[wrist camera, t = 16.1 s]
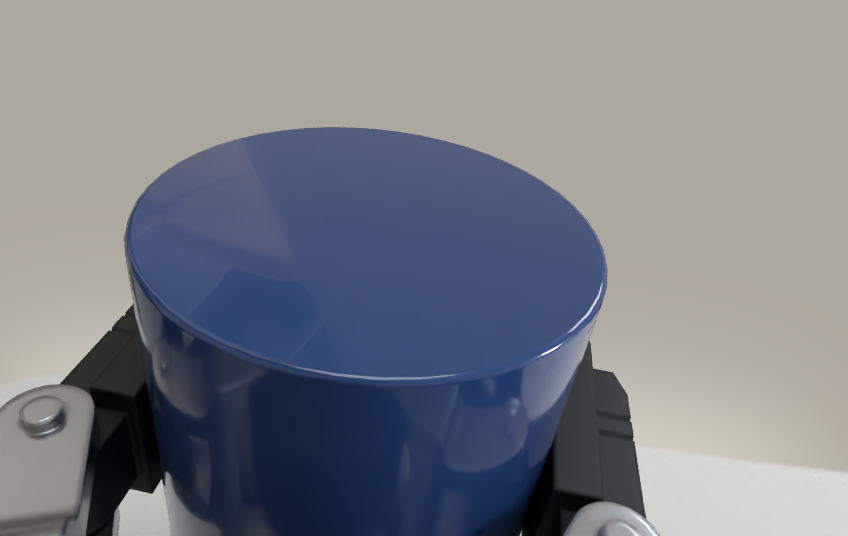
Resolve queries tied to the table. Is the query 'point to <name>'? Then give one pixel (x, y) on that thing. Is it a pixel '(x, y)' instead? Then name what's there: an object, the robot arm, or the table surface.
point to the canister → (357, 333)
